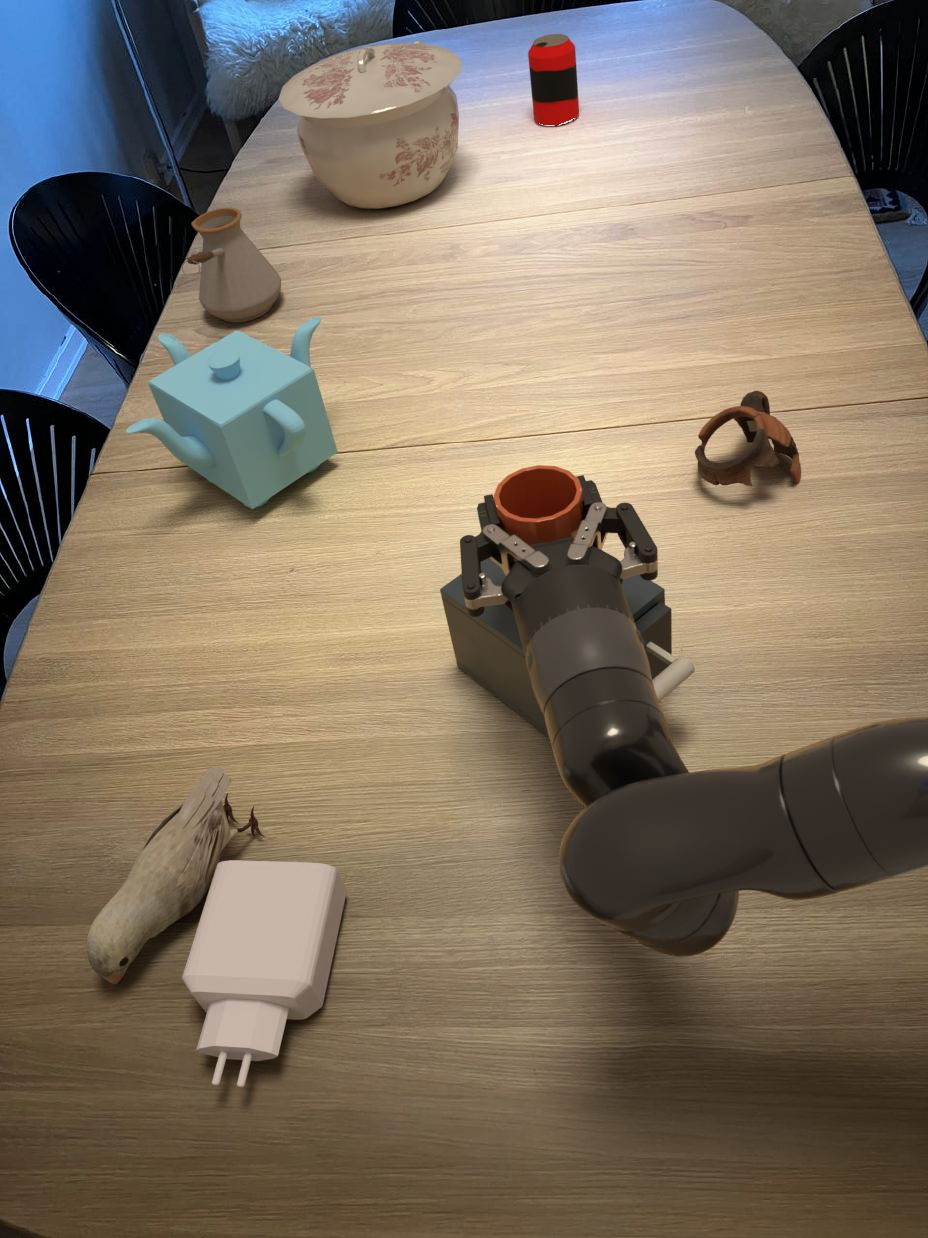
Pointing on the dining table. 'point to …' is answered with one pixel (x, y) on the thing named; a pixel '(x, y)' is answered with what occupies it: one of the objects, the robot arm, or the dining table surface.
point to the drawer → (662, 650)
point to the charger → (262, 955)
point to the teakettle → (242, 413)
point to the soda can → (553, 79)
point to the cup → (540, 504)
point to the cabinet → (513, 640)
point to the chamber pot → (378, 121)
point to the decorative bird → (165, 876)
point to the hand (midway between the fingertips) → (534, 494)
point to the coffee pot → (232, 269)
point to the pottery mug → (758, 432)
